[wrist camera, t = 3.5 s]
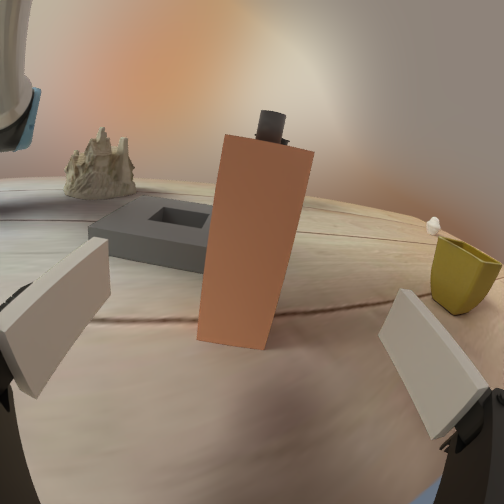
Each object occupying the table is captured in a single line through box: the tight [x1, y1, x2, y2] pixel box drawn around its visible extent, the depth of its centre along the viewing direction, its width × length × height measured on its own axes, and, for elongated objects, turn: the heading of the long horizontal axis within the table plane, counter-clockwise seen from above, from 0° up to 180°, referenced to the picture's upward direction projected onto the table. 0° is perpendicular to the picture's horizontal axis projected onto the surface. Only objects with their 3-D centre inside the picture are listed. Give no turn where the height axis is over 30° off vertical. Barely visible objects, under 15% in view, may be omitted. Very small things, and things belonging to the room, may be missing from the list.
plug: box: [197, 110, 314, 350], centre depth 19 cm, size 5×5×16 cm
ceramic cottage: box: [63, 127, 136, 200], centre depth 51 cm, size 16×16×15 cm
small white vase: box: [427, 217, 440, 236], centre depth 86 cm, size 6×6×7 cm
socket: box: [88, 195, 213, 273], centre depth 36 cm, size 18×18×3 cm
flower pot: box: [431, 236, 502, 315], centre depth 30 cm, size 9×9×9 cm
